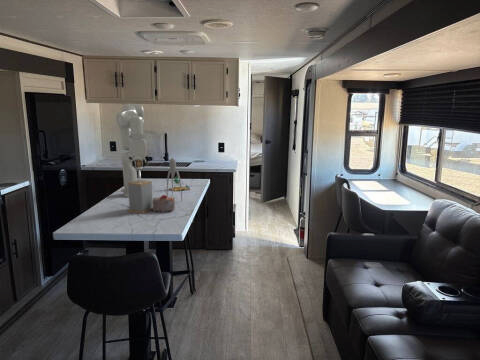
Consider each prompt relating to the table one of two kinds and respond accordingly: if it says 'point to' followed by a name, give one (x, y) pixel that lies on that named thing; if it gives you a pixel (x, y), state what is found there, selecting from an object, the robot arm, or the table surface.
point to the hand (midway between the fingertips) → (139, 166)
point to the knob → (139, 167)
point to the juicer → (172, 168)
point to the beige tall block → (140, 196)
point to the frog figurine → (176, 180)
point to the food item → (163, 204)
